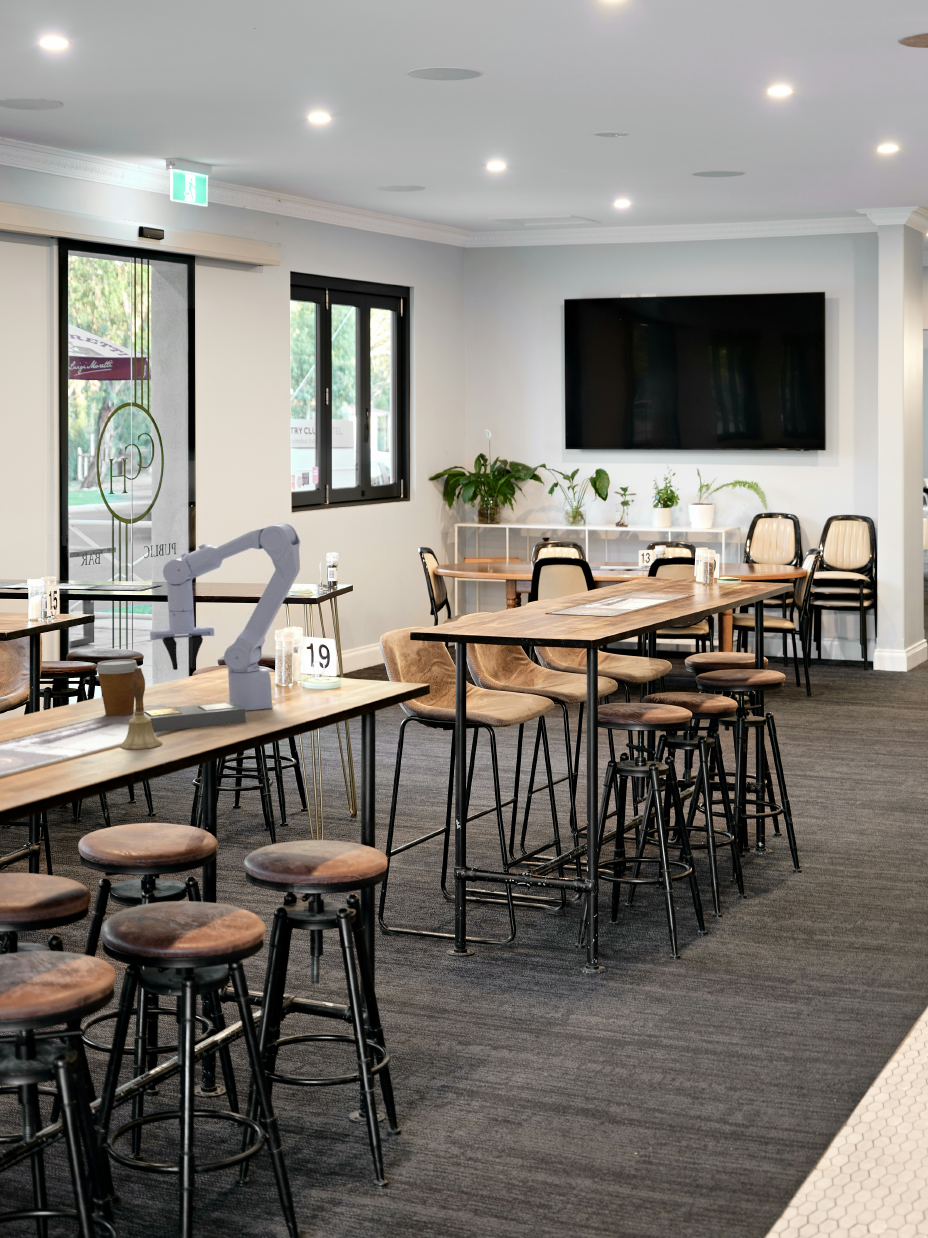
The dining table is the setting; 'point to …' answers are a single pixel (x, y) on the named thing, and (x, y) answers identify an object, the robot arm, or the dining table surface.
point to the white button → (216, 707)
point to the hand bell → (140, 719)
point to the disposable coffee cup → (117, 686)
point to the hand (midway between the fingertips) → (184, 668)
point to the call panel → (197, 717)
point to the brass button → (162, 712)
